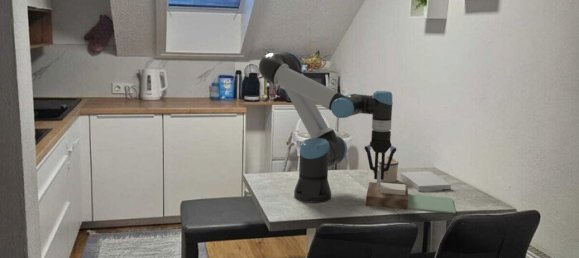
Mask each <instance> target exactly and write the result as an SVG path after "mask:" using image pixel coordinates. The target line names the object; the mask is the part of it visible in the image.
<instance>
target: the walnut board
mask: <svg viewBox="0 0 579 258" xmlns="http://www.w3.org/2000/svg"><path fill="white" fill-rule="evenodd" d="M405 185H406V184H405ZM408 185H409V184H408ZM408 185H406V191H405V195H399V194H388V193H380V188H376V187H377V182H371V181H369V182H368V187H367V192H366V195H365V199H366V200H365V207H374V208H384V209H385V208H386V209H392V210H393V209H396V210H404V211H405V210H406V211H408V209H407V208H408V194H409V191H408V189H409V187H408Z"/></svg>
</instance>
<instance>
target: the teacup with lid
mask: <svg viewBox="0 0 579 258" xmlns="http://www.w3.org/2000/svg"><path fill="white" fill-rule="evenodd" d="M389 156H390V154H389V155H387V156H385V164H384V168H385V167H386V166H387V162H388V159H389ZM381 159H382V158H380V159H378V171H381ZM398 168H399V161H398V160H396V159H394V157H392V161H391V164H390V167H389V170H388V171H385V172H384V179H383V180H381V183H393V184H394V183H396V182H397V181H398V171H399V170H398ZM372 171H373V170H372ZM373 173H374V171H373Z"/></svg>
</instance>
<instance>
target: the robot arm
mask: <svg viewBox="0 0 579 258" xmlns="http://www.w3.org/2000/svg"><path fill="white" fill-rule="evenodd" d="M258 71H259V73H260V75H261V77H262V78H263V79H264V80H266V81H268V82H269V83H271V84H273V85H274V86H279V88H280V89H282V90H284V91H285V92H286V94H287V96H288V97H289V99H290V101H291V104H292V105H293V107H294V109H295V110H296V113H297V114H298V116H299V119H300V120H301V122H302V124H303V125H304V128H305V130H306V131H307V133H308V134H309V137H310V138H307V139H304V140H302V141H301V143H300V146H299V147H300V148H299V165H298V167H299V169H298V172H299V174H298V179H297V182H296V185H295V188H294V191H293V193H294V194H293V198H295V199H296V200H298V201H302V202H306V203H323V202H327V201H329V200H331V199H332V191H331V188H330V184H329V180H328V179H329V177H328V175H329V168H330V167H332V166H335V165H338V164H340V163H341V162H342V161H344V159H345V158H346V157H347V152H348V146H347V143H346V141H345V140H344V139H343V138H342V137H341V136H339V135H338V134H336V132H335V130H334V129H332V128H330V127H329V126H328V125H327V122H326V121H325V120H324V116H323V115H322V114H321V112H320V110H319V108H318V106H317V104H318V105H319V106H321V107H323V108H326V109H328V110H329V111H331V112H332V114H333V115H334V116H335V117H336V118H339V119H346V118H349V117H352V116H356V115H359V114H363V115H365V114H366V115H372V119H371V129H372V130H371V140H370V142H369V144H367V145H365V146H364V148H363V149H364V150H365V152H366V155H367V162H368V165H369V169H370V171H374V172H373V174H374V175H373V178H374V180H376V183H377V187H376V188H380V185H381V183H382V181H381V180H383V179H384V172H385V171H388V170H389V167H390V164H391V161H392V158H394V154H395V152H397V147H395V146H393V145H392V142H391V138H392V137H391V134H392V131H391V130H392V116H393V115H392V114H393V93H392V92H391V91H387V90H376V91H373V94H372V95H368V94H365V95H364V94H357V93H348V94H346V95H344V94H342V93H340V92H338V91H337V90H335V89H332V88H330V87H328V86H326V85H325V84H322V83H320V82H318V81H316V80H315V79H314V80H313V79H312V78H310V77H307V76H306V75H304V73H303V64H302V61H301V59H300V57H299V56H298V55H296V54H295V53H292V52H286V51H285V52H270V53H268V54H266V55H264V56H262V58H261V59H260V61H259V63H258ZM371 149H372V150H373V152H374V163H373V159H372V154H371ZM389 149H390V151H389ZM388 151H389V152H390V153H389V155H390V156H389V159H388V162H387V166H386V167H385V168H384V164H385V158H386V153H388ZM380 154H381V158H380V159H381V171H378V170H379V167H378V165H379V155H380Z"/></svg>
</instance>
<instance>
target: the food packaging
mask: <svg viewBox="0 0 579 258" xmlns="http://www.w3.org/2000/svg"><path fill="white" fill-rule="evenodd" d="M399 176H400V177H401V178H402V179H403V182H405V183H406V184H408V185H409V186H410V187H411V188H413V189H415V190H417V191H418V192H435V191H443V189H444V190H451V186H452V184H451V183H449V182H447V181H446V180H445V179H443V178H442V177H440V176H439V175H437V174H435V173H433V172H432V171H431V170H429V171H428V170H427V171H426V170H425V171H424V170H423V171H406V172H404V171H403V172H400V174H399Z"/></svg>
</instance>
